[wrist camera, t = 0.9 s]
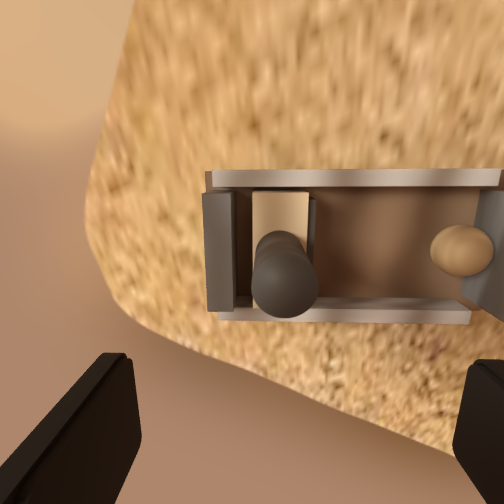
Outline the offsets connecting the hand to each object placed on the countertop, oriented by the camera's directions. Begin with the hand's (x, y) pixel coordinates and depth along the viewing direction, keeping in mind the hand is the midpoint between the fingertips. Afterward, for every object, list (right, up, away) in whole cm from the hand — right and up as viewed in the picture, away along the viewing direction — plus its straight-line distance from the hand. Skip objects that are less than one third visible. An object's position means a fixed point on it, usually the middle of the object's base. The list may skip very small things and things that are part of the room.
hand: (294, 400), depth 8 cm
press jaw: (+1, +5, +17) cm, 18 cm away
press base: (+7, +5, +18) cm, 20 cm away
